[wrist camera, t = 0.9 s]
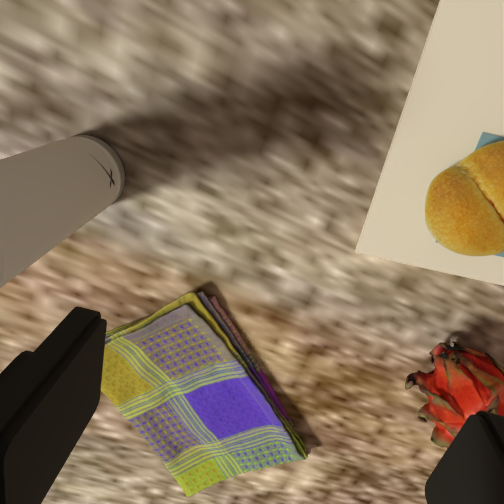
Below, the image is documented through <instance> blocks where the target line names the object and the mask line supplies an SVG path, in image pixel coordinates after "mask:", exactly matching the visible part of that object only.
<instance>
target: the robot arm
mask: <svg viewBox="0 0 504 504" xmlns="http://www.w3.org/2000/svg"><path fill="white" fill-rule="evenodd" d="M106 326H107V321H106V320H105V319H101V314H100V312H98V311H94V310H90V309H86V308H82V307H75V308H74V309H73V310H72V311H71V312H70V313H69V314H68V315H67V316H66V317H65V319H64V320H63V321H62V322H61V323H60V324H59V325H58V326H57V327H56V328H55V329H54V330H53V332H52V333H51V334H50V335H49V336H48V337H47V338H46V339H45V340H44V341H43V342H42V344H41V345H40V346H39V347H38V348H37V349H36V350H35V351H34V352H31V351H24V352H22V353H21V354H19V355H18V356H17V357H16V358H15V359H14V360H13V361H12V362H11V363H10V364H9V365H8V366H7V367H6V368H5V369H4V370H3V371H2V372H1V374H0V504H41V503H42V501H43V499H44V498H45V496H46V494H47V492H48V491H49V489H50V487H51V486H52V484H53V482H54V481H55V479H56V477H57V475H58V474H59V472H60V470H61V469H62V467H63V465H64V464H65V462H66V460H67V458H68V457H69V455H70V453H71V452H72V450H73V448H74V446H75V445H76V443H77V441H78V440H79V438H80V436H81V435H82V433H83V431H84V429H85V428H86V426H87V424H88V423H89V421H90V419H91V418H92V416H93V414H94V412H95V410H96V408H97V406H98V403H99V399H100V392H101V381H102V370H103V359H104V348H105V337H106ZM425 496H426V500H427V504H504V416H502V415H498V414H494V413H490V412H486V411H478V412H477V413H476V414H475V415H473V414H472V415H470V416H469V417H468V418H467V420H466V421H465V423H464V424H463V426H462V428H461V429H460V431H459V432H458V434H457V435H456V437H455V438H454V440H453V441H452V443H451V444H450V446H449V448H448V449H447V451H446V452H445V454H444V455H443V457H442V458H441V460H440V461H439V463H438V464H437V466H436V468H435V469H434V471H433V472H432V474H431V475H430V477H429V478H428V480H427V482H426V485H425Z"/></svg>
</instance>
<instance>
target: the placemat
mask: <svg viewBox="0 0 504 504" xmlns="http://www.w3.org/2000/svg"><path fill="white" fill-rule="evenodd" d="M498 141H504V0H440V1H439V4H438V7H437V10H436V13H435V16H434V19H433V22H432V25H431V28H430V31H429V34H428V37H427V40H426V43H425V46H424V49H423V52H422V55H421V58H420V60H419V63H418V66H417V69H416V72H415V75H414V78H413V81H412V84H411V87H410V90H409V93H408V96H407V99H406V102H405V105H404V108H403V111H402V114H401V117H400V119H399V122H398V125H397V128H396V131H395V134H394V137H393V140H392V143H391V146H390V149H389V152H388V155H387V158H386V161H385V164H384V167H383V170H382V173H381V176H380V179H379V181H378V184H377V187H376V190H375V193H374V196H373V199H372V202H371V205H370V208H369V211H368V214H367V217H366V220H365V223H364V226H363V229H362V232H361V235H360V238H359V240H358V243H357V246H356V249H355V253H359V254H364V255H368V256H373V257H377V258H382V259H386V260H391V261H395V262H400V263H404V264H409V265H413V266H418V267H422V268H427V269H431V270H436V271H440V272H445V273H449V274H454V275H458V276H463V277H467V278H472V279H476V280H481V281H485V282H490V283H494V284H499V285H503V286H504V252H502V253H499V254H495V255H489V256H467V255H462V254H458V253H455V252H453V251H450V250H448V249H447V248H445V247H443V246H442V245H441V244H440V243H439V242H438V241H437V240H436V239H435V238H434V237H433V236H432V234H431V233H430V231H429V230H428V228H427V225H426V221H425V200H426V195H427V191H428V188H429V185H430V183H431V181H432V180H433V179H434V178H435V177H436V176H437V175H438V174H440V173H441V172H442V171H444V170H445V169H447V168H449V167H452V166H454V165H455V164H457V163H458V162H460V161H461V160H463V159H464V158H466V157H467V156H468V155H470V154H471V153H472V152H474V151H475V150H477V149H479V148H481V147H483V146H485V145H488V144H491V143H495V142H498Z"/></svg>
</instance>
